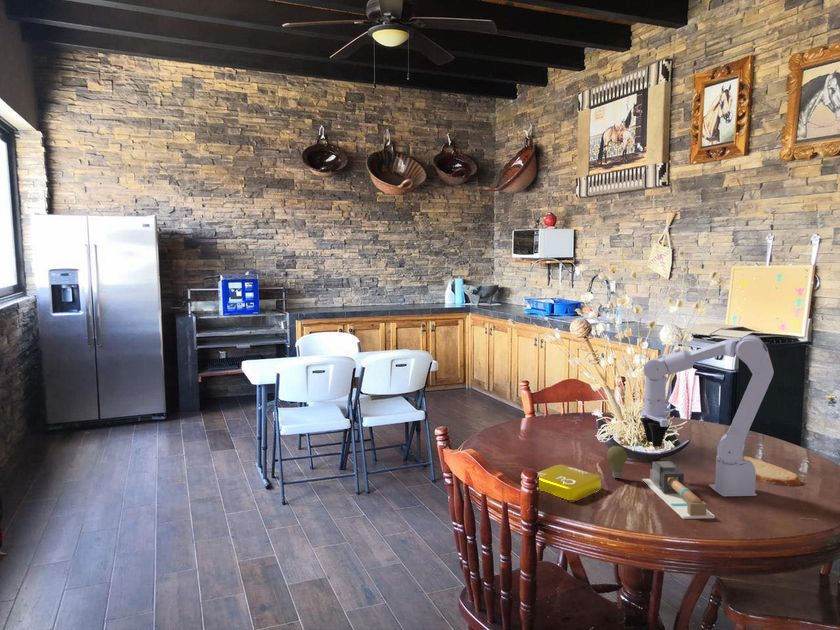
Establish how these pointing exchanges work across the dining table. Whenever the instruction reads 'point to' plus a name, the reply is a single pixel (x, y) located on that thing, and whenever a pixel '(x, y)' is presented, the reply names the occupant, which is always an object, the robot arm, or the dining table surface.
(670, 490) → the grey square frame
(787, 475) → the slice of bread
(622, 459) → the light bulb
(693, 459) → the dining table surface
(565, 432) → the dining table surface
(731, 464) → the robot arm
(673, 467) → the sleeve
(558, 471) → the element tile
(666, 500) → the pipe rig
